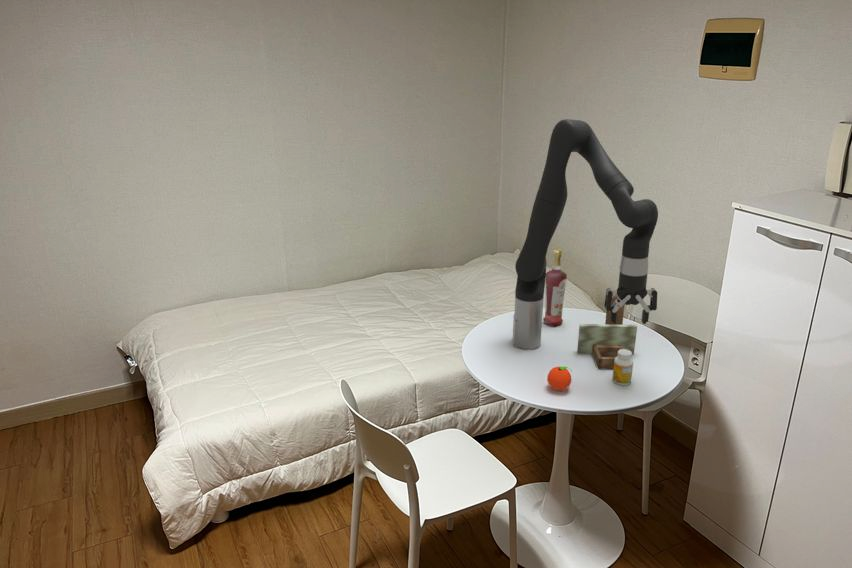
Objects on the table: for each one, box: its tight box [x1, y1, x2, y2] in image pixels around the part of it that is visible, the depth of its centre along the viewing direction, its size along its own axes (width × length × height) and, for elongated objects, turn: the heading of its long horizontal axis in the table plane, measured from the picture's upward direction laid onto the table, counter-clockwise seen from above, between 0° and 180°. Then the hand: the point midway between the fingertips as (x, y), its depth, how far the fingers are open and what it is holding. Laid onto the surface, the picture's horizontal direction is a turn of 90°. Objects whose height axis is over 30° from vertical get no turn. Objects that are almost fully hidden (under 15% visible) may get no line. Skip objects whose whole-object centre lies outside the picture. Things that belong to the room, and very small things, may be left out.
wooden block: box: [604, 294, 626, 325], centre depth 206 cm, size 9×4×18 cm, turn 92°
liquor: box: [543, 248, 568, 327], centre depth 220 cm, size 7×7×28 cm
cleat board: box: [576, 323, 638, 370], centre depth 196 cm, size 18×12×10 cm, turn 87°
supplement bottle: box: [611, 349, 634, 386], centre depth 184 cm, size 5×5×10 cm
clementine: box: [547, 366, 573, 391], centre depth 181 cm, size 8×7×7 cm
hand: (628, 322), depth 180 cm, fingers open, 8 cm apart
